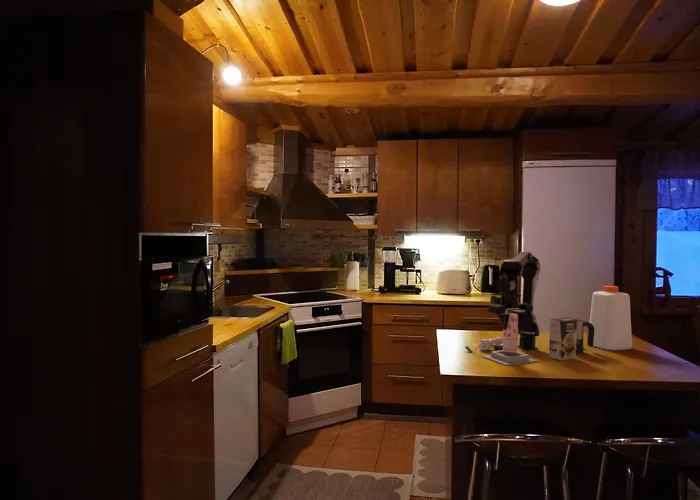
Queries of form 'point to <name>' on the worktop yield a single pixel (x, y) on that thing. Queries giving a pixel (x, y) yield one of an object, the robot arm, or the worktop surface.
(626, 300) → the plastic bottle
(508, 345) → the beverage can
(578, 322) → the milk frother
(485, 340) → the clip-on lamp
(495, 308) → the robot arm
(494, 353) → the grey plate with frame
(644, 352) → the worktop surface
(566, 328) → the coffee box
